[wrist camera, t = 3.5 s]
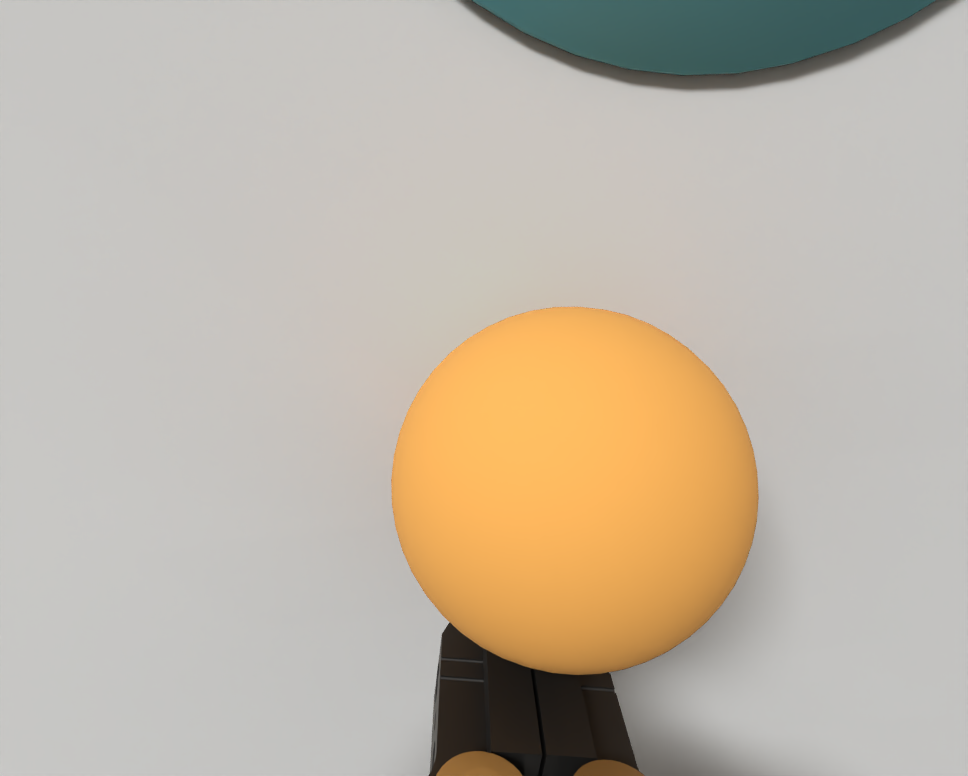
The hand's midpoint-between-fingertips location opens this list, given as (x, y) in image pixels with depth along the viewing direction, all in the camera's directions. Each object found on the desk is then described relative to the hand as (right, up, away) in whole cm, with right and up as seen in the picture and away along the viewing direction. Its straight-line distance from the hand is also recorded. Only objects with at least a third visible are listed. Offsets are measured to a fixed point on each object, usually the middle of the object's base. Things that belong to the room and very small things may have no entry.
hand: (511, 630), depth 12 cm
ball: (+1, +3, -2) cm, 4 cm away
